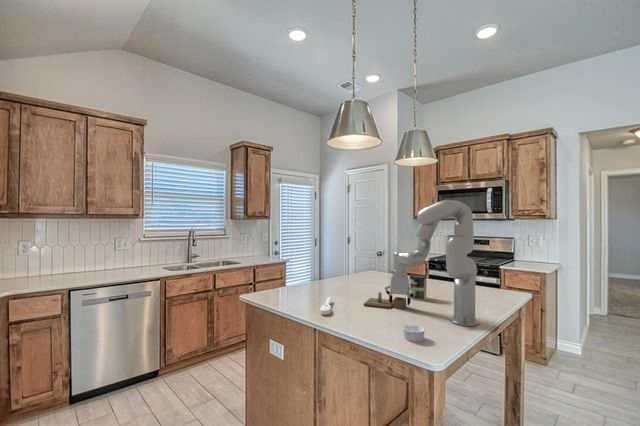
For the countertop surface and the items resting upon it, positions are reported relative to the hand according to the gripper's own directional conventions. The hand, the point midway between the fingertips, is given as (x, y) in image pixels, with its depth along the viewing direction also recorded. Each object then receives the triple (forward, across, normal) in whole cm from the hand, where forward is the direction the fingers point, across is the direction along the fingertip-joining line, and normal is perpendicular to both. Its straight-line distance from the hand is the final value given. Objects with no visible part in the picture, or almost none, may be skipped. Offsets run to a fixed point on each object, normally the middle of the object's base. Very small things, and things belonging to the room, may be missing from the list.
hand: (399, 303), depth 181 cm
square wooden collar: (+2, 0, +2) cm, 3 cm away
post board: (+2, -12, +2) cm, 12 cm away
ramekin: (+2, +13, -44) cm, 46 cm away
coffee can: (+2, +7, +25) cm, 26 cm away
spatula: (+2, -37, -18) cm, 41 cm away
